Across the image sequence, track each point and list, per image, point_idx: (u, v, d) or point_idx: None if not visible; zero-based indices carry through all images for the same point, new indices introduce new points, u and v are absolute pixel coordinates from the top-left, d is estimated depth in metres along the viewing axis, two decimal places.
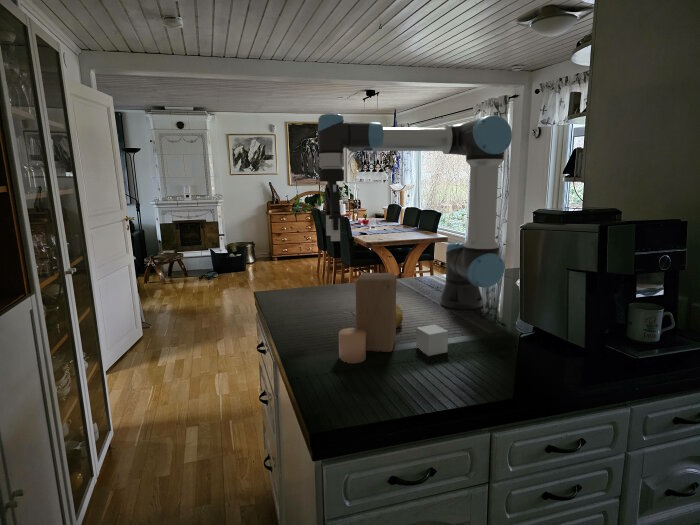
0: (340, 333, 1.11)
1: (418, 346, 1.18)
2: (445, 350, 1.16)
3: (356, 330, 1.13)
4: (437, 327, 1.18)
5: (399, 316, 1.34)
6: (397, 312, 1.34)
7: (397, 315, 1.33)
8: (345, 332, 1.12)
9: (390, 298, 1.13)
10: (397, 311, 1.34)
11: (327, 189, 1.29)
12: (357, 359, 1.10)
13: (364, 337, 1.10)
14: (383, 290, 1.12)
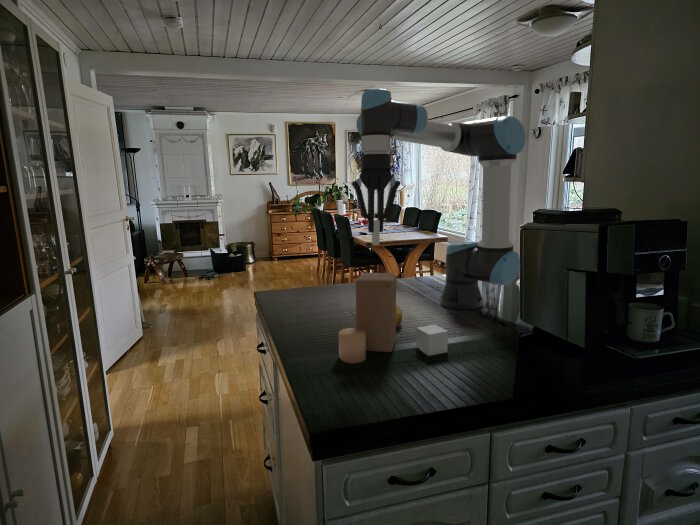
0: (340, 333, 1.11)
1: (418, 346, 1.18)
2: (445, 350, 1.16)
3: (356, 330, 1.13)
4: (437, 327, 1.18)
5: (398, 316, 1.34)
6: (396, 312, 1.34)
7: (396, 315, 1.33)
8: (345, 332, 1.12)
9: (390, 298, 1.13)
10: (396, 311, 1.34)
11: None
12: (357, 359, 1.10)
13: (364, 337, 1.10)
14: (383, 290, 1.12)
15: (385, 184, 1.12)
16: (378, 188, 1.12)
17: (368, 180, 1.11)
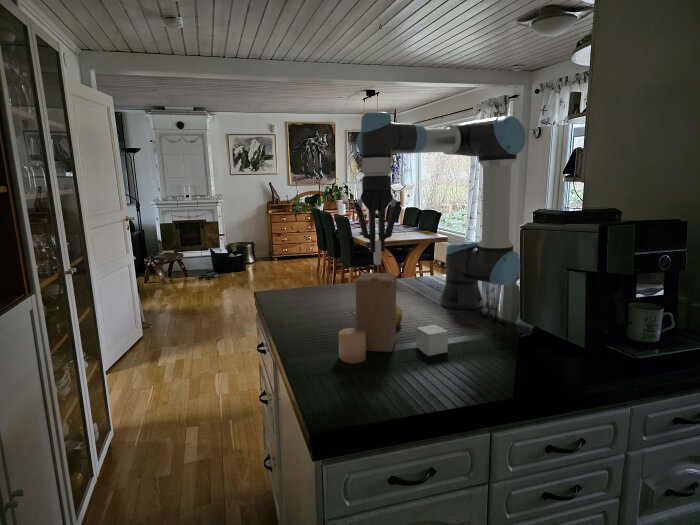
0: (340, 333, 1.11)
1: (418, 346, 1.18)
2: (445, 350, 1.16)
3: (356, 330, 1.13)
4: (437, 327, 1.18)
5: (398, 315, 1.34)
6: (396, 311, 1.34)
7: (396, 314, 1.34)
8: (345, 332, 1.12)
9: (390, 298, 1.13)
10: (396, 311, 1.35)
11: None
12: (357, 359, 1.10)
13: (364, 337, 1.10)
14: (383, 290, 1.12)
15: (386, 205, 1.13)
16: (379, 209, 1.13)
17: (369, 201, 1.12)
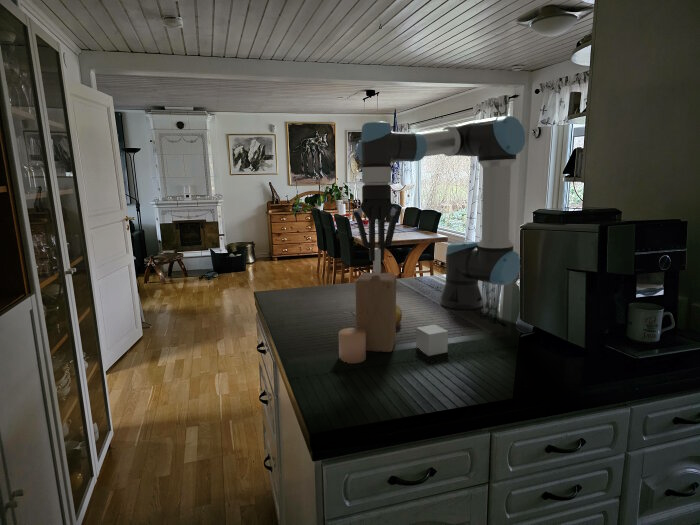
0: (340, 333, 1.11)
1: (418, 346, 1.18)
2: (445, 350, 1.16)
3: (356, 330, 1.13)
4: (437, 327, 1.18)
5: (397, 315, 1.34)
6: None
7: None
8: (345, 332, 1.12)
9: (390, 298, 1.13)
10: (396, 310, 1.35)
11: None
12: (357, 359, 1.10)
13: (364, 337, 1.10)
14: (383, 290, 1.12)
15: (386, 214, 1.14)
16: (379, 218, 1.13)
17: (369, 210, 1.13)
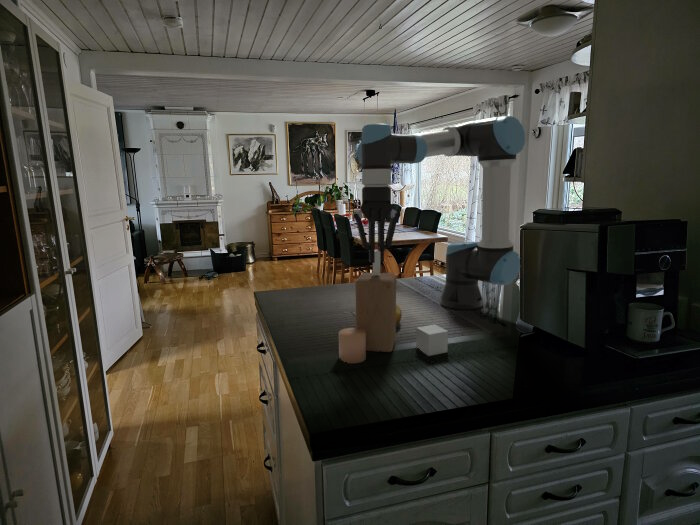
0: (340, 333, 1.11)
1: (418, 346, 1.18)
2: (445, 350, 1.16)
3: (356, 330, 1.13)
4: (437, 327, 1.18)
5: (397, 315, 1.34)
6: None
7: None
8: (345, 332, 1.12)
9: (390, 298, 1.13)
10: None
11: None
12: (357, 359, 1.10)
13: (364, 337, 1.10)
14: (383, 290, 1.12)
15: (385, 216, 1.14)
16: (379, 220, 1.13)
17: (369, 212, 1.13)
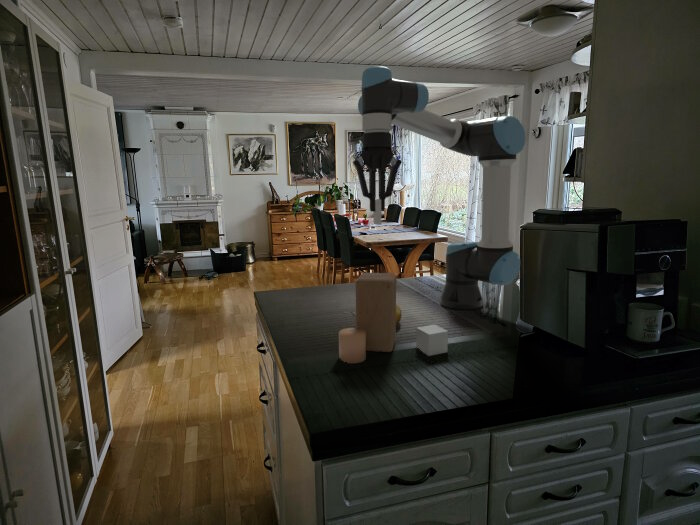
0: (340, 333, 1.11)
1: (418, 346, 1.18)
2: (445, 350, 1.16)
3: (356, 330, 1.13)
4: (437, 327, 1.18)
5: (397, 315, 1.35)
6: None
7: None
8: (345, 332, 1.12)
9: (390, 298, 1.13)
10: None
11: None
12: (357, 359, 1.10)
13: (364, 337, 1.10)
14: (383, 290, 1.12)
15: (386, 163, 1.12)
16: (379, 167, 1.12)
17: (369, 159, 1.11)
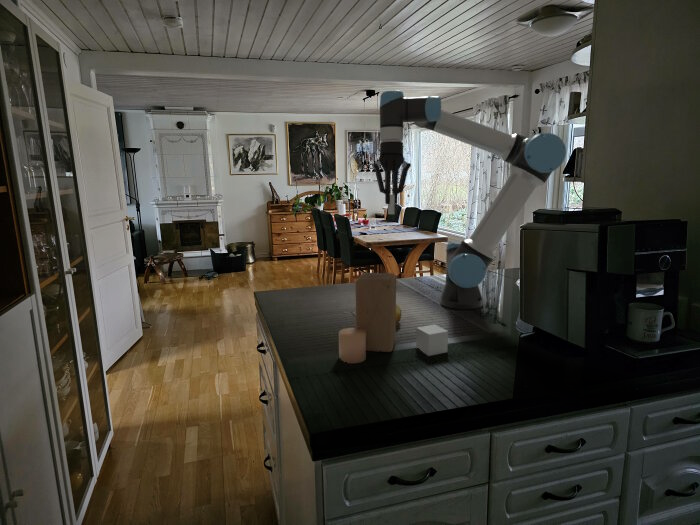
0: (340, 333, 1.11)
1: (418, 346, 1.18)
2: (445, 350, 1.16)
3: (356, 330, 1.13)
4: (437, 327, 1.18)
5: (396, 315, 1.35)
6: None
7: None
8: (345, 332, 1.12)
9: (390, 298, 1.13)
10: None
11: None
12: (357, 359, 1.10)
13: (364, 337, 1.10)
14: (383, 290, 1.12)
15: (399, 165, 1.42)
16: (393, 169, 1.42)
17: (385, 162, 1.41)
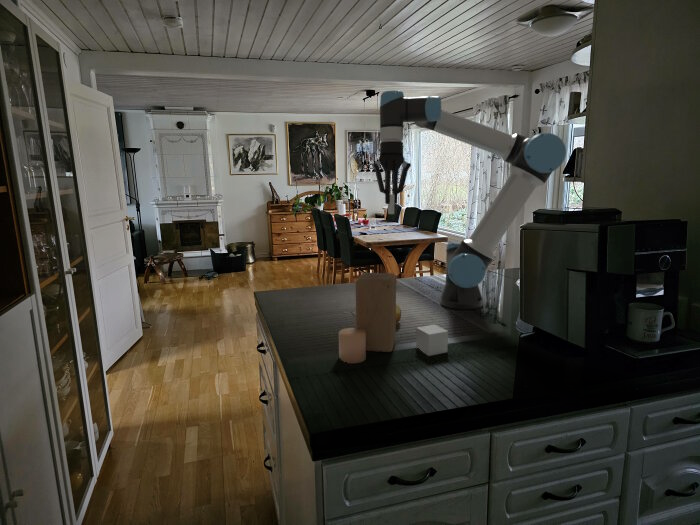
0: (340, 333, 1.11)
1: (418, 346, 1.18)
2: (445, 350, 1.16)
3: (356, 330, 1.13)
4: (437, 327, 1.18)
5: (396, 315, 1.35)
6: None
7: None
8: (345, 332, 1.12)
9: (390, 298, 1.13)
10: None
11: None
12: (357, 359, 1.10)
13: (364, 337, 1.10)
14: (383, 290, 1.12)
15: (399, 165, 1.42)
16: (393, 169, 1.42)
17: (385, 162, 1.41)
